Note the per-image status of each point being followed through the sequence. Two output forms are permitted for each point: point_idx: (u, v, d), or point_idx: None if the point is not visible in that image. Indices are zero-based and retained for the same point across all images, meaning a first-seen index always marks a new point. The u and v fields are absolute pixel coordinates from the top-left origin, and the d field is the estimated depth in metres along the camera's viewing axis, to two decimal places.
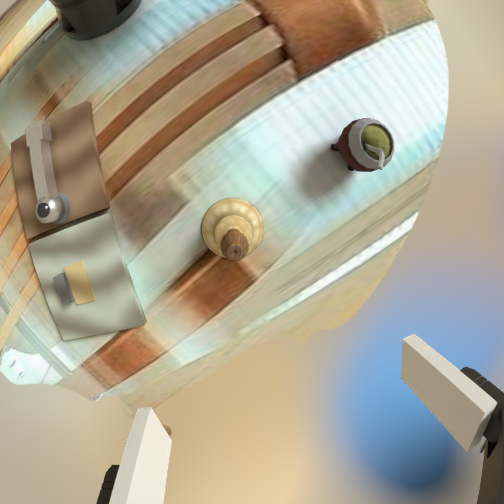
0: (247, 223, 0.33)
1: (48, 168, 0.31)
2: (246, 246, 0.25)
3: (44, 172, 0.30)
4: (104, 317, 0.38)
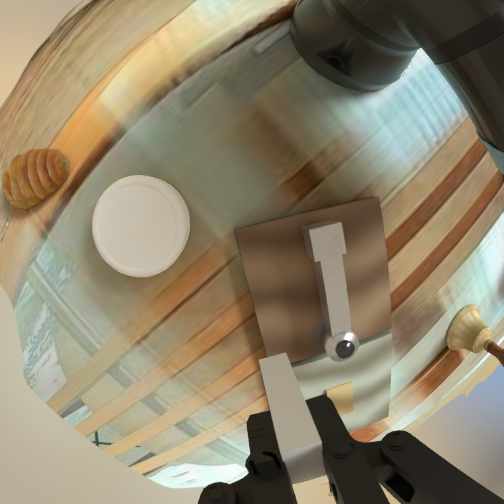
0: (490, 332, 0.31)
1: None
2: None
3: (348, 302, 0.27)
4: (354, 421, 0.35)
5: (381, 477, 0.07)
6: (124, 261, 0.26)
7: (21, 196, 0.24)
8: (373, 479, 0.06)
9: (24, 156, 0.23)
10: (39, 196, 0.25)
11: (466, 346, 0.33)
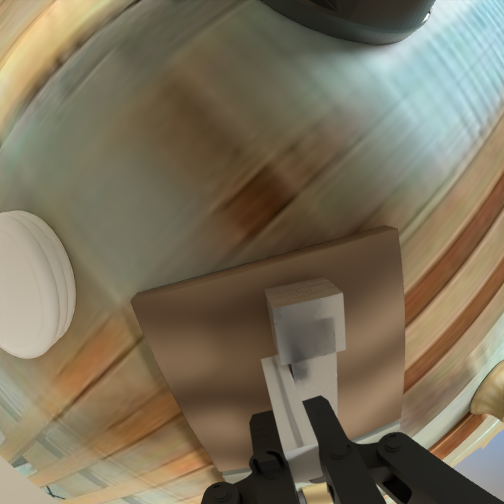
0: None
1: None
2: None
3: None
4: None
5: (378, 479, 0.07)
6: (0, 335, 0.13)
7: None
8: (370, 480, 0.06)
9: None
10: None
11: (494, 414, 0.19)
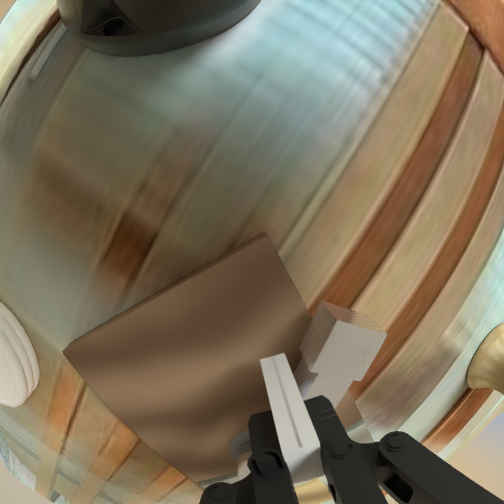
0: None
1: None
2: None
3: None
4: None
5: (380, 478, 0.07)
6: None
7: None
8: (371, 480, 0.06)
9: None
10: None
11: (495, 389, 0.18)
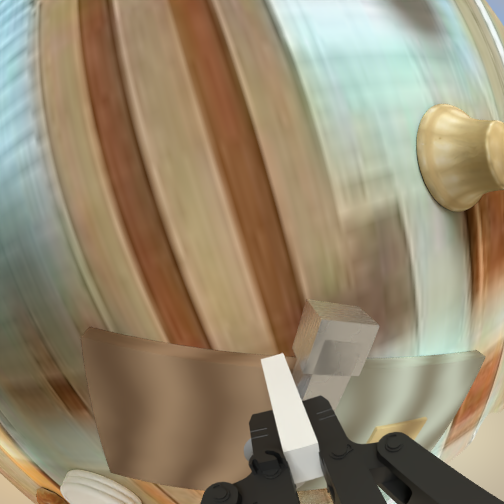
0: (499, 122, 0.11)
1: None
2: None
3: None
4: (446, 409, 0.20)
5: (378, 479, 0.07)
6: None
7: None
8: (370, 480, 0.06)
9: None
10: None
11: None
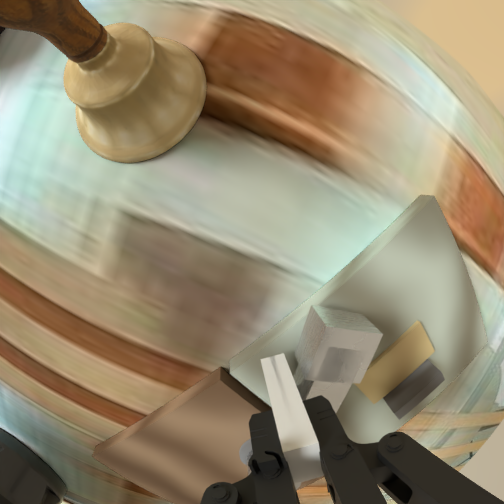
0: None
1: None
2: None
3: None
4: (444, 288, 0.16)
5: (379, 478, 0.07)
6: None
7: None
8: (371, 480, 0.06)
9: None
10: None
11: (155, 90, 0.11)
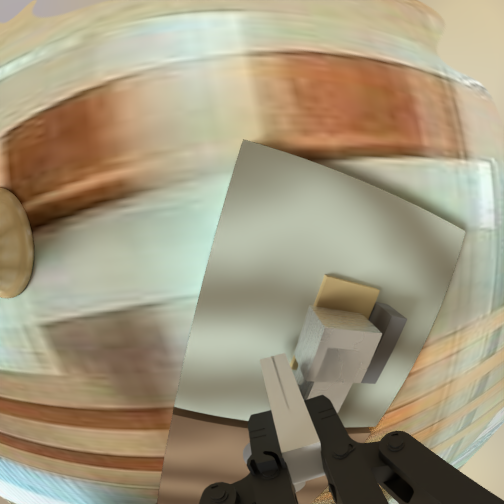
0: None
1: None
2: None
3: None
4: (338, 220, 0.15)
5: (380, 478, 0.07)
6: None
7: None
8: (372, 479, 0.06)
9: None
10: None
11: None
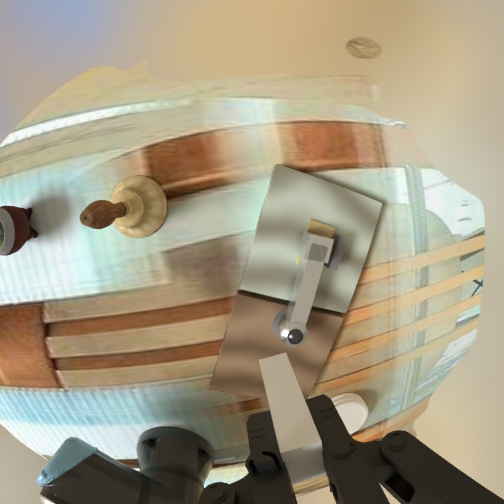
0: None
1: None
2: None
3: None
4: (314, 196, 0.36)
5: (381, 477, 0.07)
6: (360, 411, 0.43)
7: None
8: (373, 479, 0.06)
9: None
10: None
11: (148, 206, 0.32)
